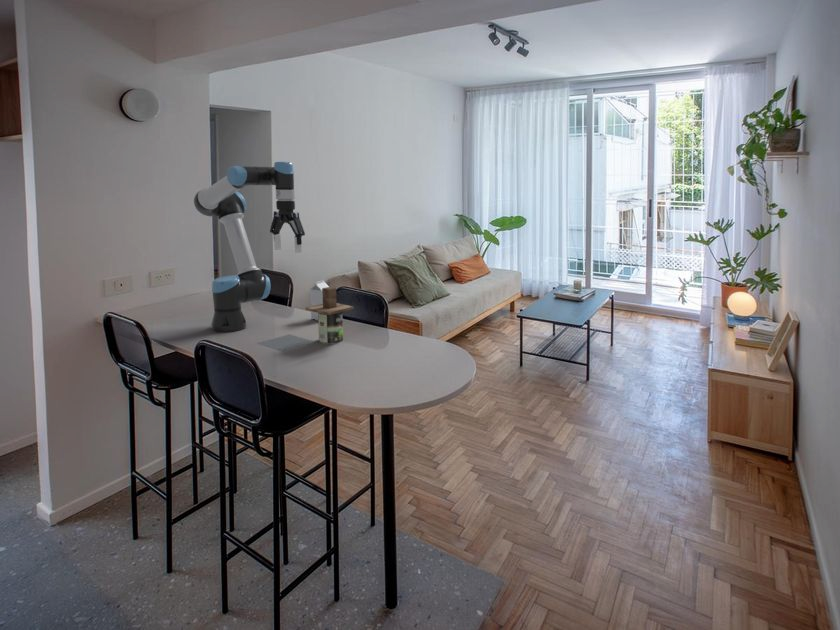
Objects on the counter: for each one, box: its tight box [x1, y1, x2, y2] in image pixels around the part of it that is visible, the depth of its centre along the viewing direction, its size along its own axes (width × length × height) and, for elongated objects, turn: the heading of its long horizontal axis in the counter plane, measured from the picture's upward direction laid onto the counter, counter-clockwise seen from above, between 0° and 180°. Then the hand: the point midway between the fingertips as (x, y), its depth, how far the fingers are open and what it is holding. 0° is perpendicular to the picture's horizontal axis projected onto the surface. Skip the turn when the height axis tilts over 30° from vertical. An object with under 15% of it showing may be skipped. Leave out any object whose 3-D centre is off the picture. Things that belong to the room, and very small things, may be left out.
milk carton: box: [309, 279, 330, 321], centre depth 265 cm, size 7×7×19 cm
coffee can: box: [317, 312, 344, 345], centre depth 229 cm, size 10×10×14 cm
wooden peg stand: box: [305, 286, 355, 315], centre depth 226 cm, size 14×14×9 cm
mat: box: [257, 334, 316, 352], centre depth 227 cm, size 17×17×1 cm
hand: (287, 251), depth 233 cm, fingers open, 13 cm apart
